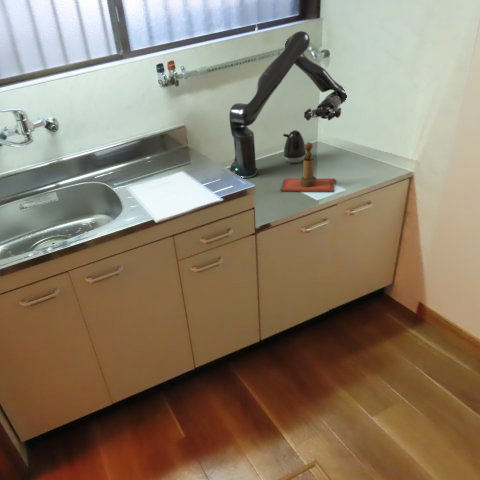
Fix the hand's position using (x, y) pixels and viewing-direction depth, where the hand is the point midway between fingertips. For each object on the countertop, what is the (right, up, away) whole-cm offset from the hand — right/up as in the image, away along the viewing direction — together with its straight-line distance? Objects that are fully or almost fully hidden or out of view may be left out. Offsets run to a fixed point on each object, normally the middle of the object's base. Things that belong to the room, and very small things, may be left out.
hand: (318, 118), depth 167 cm
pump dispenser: (0, -13, +28) cm, 31 cm away
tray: (-3, -28, +3) cm, 28 cm away
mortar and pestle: (-3, -27, +3) cm, 28 cm away
